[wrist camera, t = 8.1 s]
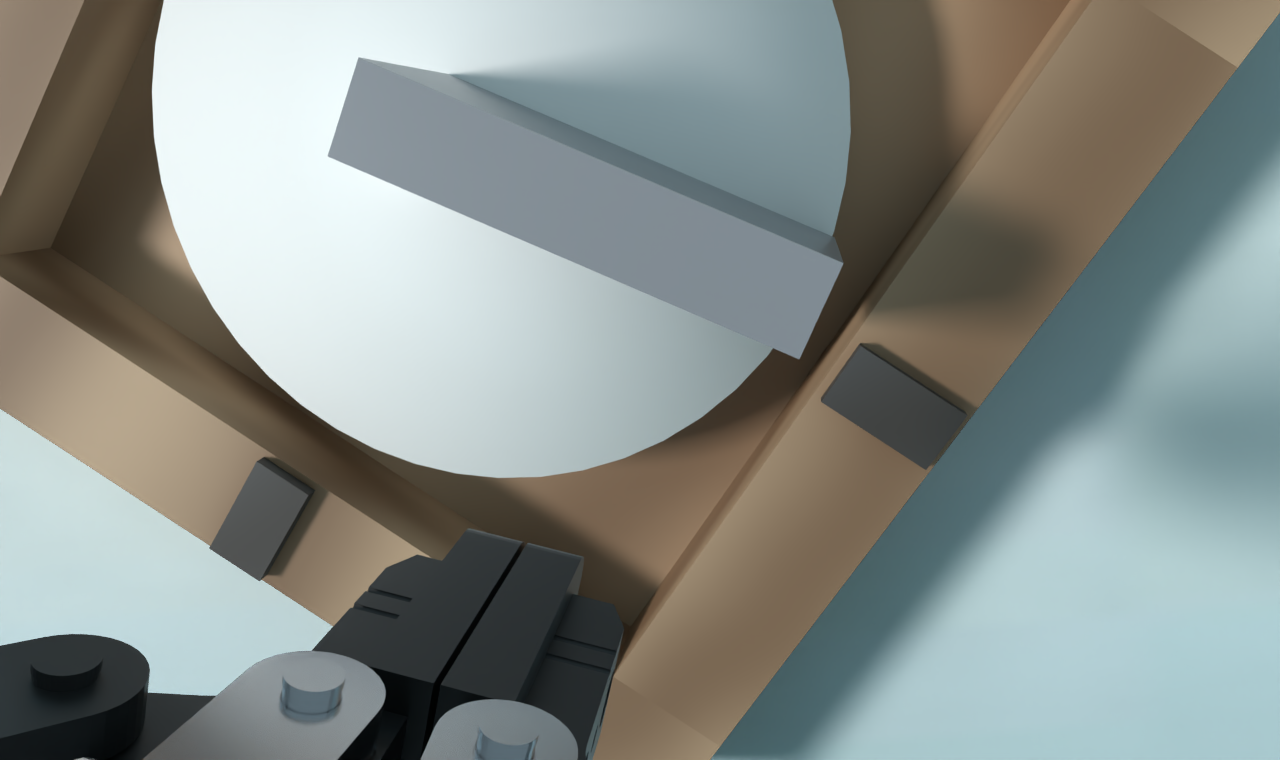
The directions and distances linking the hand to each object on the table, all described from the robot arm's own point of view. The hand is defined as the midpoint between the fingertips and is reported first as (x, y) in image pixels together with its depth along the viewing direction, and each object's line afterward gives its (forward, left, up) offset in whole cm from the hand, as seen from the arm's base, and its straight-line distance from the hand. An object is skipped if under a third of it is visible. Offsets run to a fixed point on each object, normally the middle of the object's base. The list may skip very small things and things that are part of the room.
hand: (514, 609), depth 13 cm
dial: (-5, +4, -10) cm, 11 cm away
